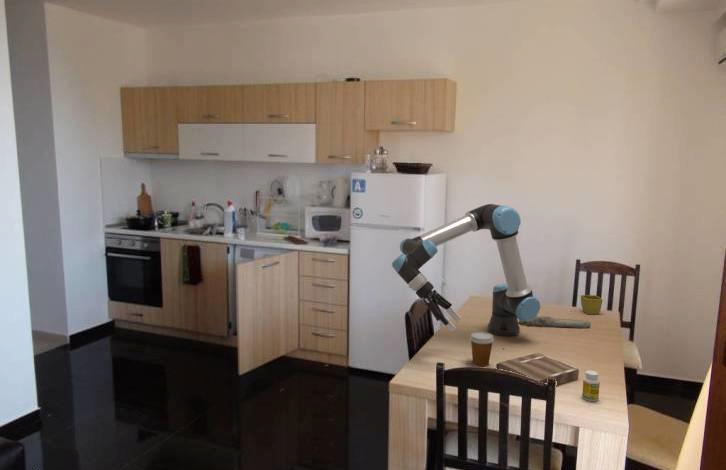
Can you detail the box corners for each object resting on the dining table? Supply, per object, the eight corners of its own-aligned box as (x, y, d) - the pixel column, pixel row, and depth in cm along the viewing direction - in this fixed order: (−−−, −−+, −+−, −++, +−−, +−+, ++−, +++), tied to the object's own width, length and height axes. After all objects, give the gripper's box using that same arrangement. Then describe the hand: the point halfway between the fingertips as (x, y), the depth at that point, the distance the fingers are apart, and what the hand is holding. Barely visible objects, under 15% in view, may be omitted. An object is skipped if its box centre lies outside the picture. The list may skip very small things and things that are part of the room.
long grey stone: (593, 333, 267) (587, 327, 277) (594, 322, 267) (588, 317, 276) (520, 326, 271) (517, 321, 280) (521, 315, 270) (518, 311, 280)
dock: (535, 361, 226) (536, 351, 225) (578, 379, 207) (579, 368, 207) (496, 371, 215) (496, 360, 214) (537, 391, 197) (538, 380, 196)
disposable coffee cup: (488, 370, 216) (489, 341, 214) (465, 364, 221) (466, 336, 219) (495, 362, 224) (497, 334, 222) (473, 357, 229) (474, 330, 227)
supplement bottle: (590, 394, 195) (592, 368, 193) (601, 400, 190) (604, 374, 188) (578, 396, 193) (580, 370, 192) (589, 402, 188) (591, 376, 187)
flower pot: (601, 315, 291) (603, 299, 289) (585, 315, 291) (586, 299, 289) (595, 311, 299) (596, 295, 298) (579, 310, 299) (580, 295, 298)
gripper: (421, 285, 239) (454, 321, 236) (407, 299, 216) (443, 340, 213) (433, 274, 236) (467, 311, 234) (421, 287, 213) (457, 328, 210)
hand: (456, 325), depth 223 cm, fingers open, 13 cm apart
